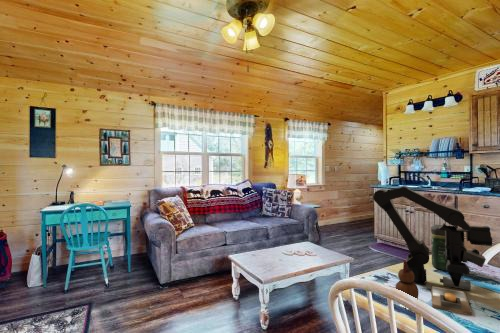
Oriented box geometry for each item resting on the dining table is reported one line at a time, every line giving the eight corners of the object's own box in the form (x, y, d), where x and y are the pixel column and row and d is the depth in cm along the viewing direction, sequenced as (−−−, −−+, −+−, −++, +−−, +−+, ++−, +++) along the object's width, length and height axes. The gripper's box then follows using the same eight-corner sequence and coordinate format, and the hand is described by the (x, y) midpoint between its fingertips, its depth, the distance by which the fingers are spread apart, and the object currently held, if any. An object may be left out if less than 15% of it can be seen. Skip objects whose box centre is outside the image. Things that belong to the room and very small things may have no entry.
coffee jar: (455, 272, 114) (453, 228, 114) (433, 269, 118) (431, 227, 118) (451, 264, 123) (450, 224, 123) (431, 262, 127) (429, 222, 127)
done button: (444, 300, 87) (444, 295, 87) (444, 296, 89) (444, 291, 89) (456, 302, 85) (456, 297, 85) (455, 298, 88) (455, 294, 88)
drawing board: (432, 307, 87) (432, 299, 87) (430, 288, 100) (430, 282, 100) (471, 315, 82) (471, 307, 82) (465, 294, 95) (464, 287, 95)
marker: (440, 286, 102) (439, 277, 102) (439, 283, 105) (439, 274, 105) (471, 291, 97) (470, 282, 97) (469, 288, 100) (469, 279, 100)
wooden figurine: (408, 310, 86) (406, 263, 86) (392, 302, 91) (391, 258, 91) (422, 305, 89) (420, 260, 89) (406, 297, 94) (404, 255, 94)
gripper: (488, 252, 88) (490, 300, 88) (478, 239, 104) (479, 279, 104) (446, 248, 94) (448, 292, 94) (443, 235, 110) (444, 274, 110)
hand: (456, 284), depth 100 cm, fingers closed on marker, 3 cm apart
